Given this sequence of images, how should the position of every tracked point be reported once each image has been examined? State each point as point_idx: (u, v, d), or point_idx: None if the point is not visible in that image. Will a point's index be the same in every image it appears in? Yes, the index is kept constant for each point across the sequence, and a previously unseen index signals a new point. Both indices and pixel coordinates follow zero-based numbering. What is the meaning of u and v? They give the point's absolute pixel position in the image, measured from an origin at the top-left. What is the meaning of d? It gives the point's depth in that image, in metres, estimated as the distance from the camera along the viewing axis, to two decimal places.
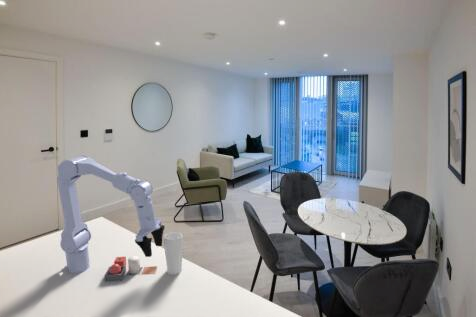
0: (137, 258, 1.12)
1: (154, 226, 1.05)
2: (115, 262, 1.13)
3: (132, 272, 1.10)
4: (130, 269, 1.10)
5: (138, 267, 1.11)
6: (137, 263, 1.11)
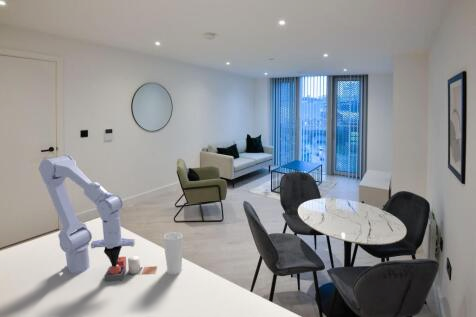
0: (137, 258, 1.12)
1: (108, 243, 1.03)
2: None
3: (132, 272, 1.10)
4: (130, 269, 1.10)
5: (138, 267, 1.11)
6: (137, 263, 1.11)
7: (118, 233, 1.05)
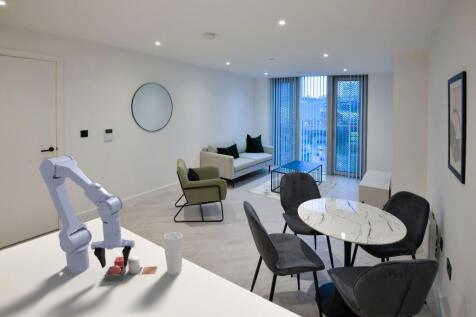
0: (137, 258, 1.11)
1: (108, 244, 1.04)
2: (115, 262, 1.13)
3: (132, 272, 1.10)
4: (130, 269, 1.10)
5: (138, 267, 1.11)
6: (137, 263, 1.10)
7: (118, 234, 1.05)
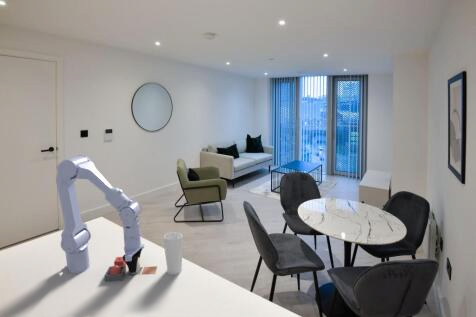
0: None
1: (139, 245, 1.10)
2: (115, 262, 1.13)
3: None
4: None
5: (138, 267, 1.11)
6: (137, 263, 1.10)
7: None
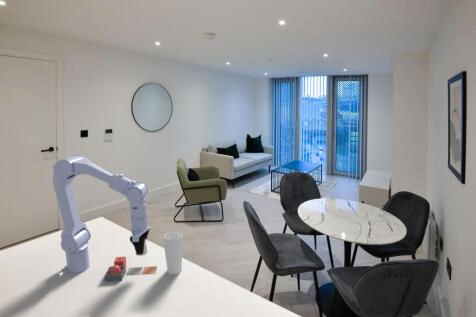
0: None
1: (146, 227, 1.09)
2: (115, 262, 1.13)
3: None
4: None
5: (145, 249, 1.10)
6: (144, 245, 1.09)
7: None
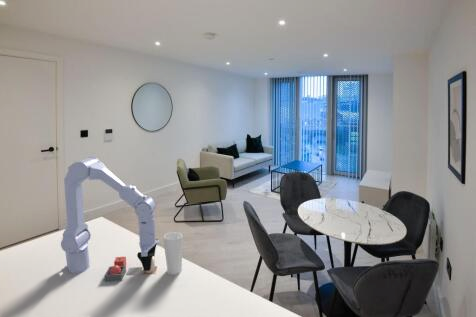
0: (152, 257, 1.12)
1: (154, 241, 1.10)
2: (115, 262, 1.13)
3: (147, 271, 1.11)
4: None
5: (153, 266, 1.12)
6: (152, 262, 1.11)
7: None
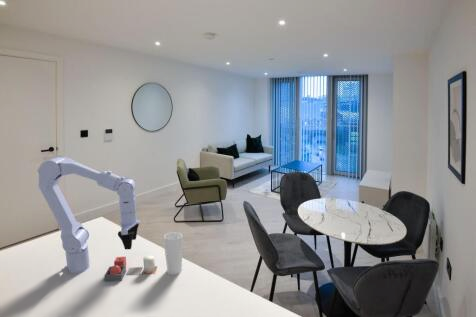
0: (152, 257, 1.12)
1: (135, 221, 1.13)
2: (115, 262, 1.13)
3: (147, 271, 1.11)
4: (145, 268, 1.11)
5: (153, 266, 1.12)
6: (152, 262, 1.11)
7: None
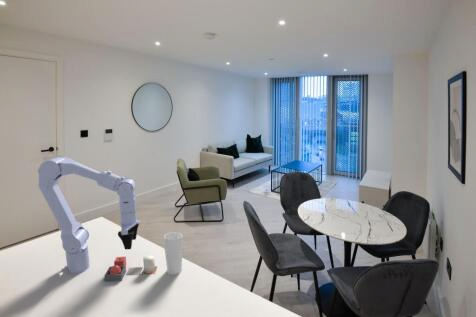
0: (152, 257, 1.12)
1: (135, 221, 1.13)
2: (115, 262, 1.13)
3: (147, 271, 1.11)
4: (145, 268, 1.11)
5: (153, 266, 1.12)
6: (152, 262, 1.11)
7: None
